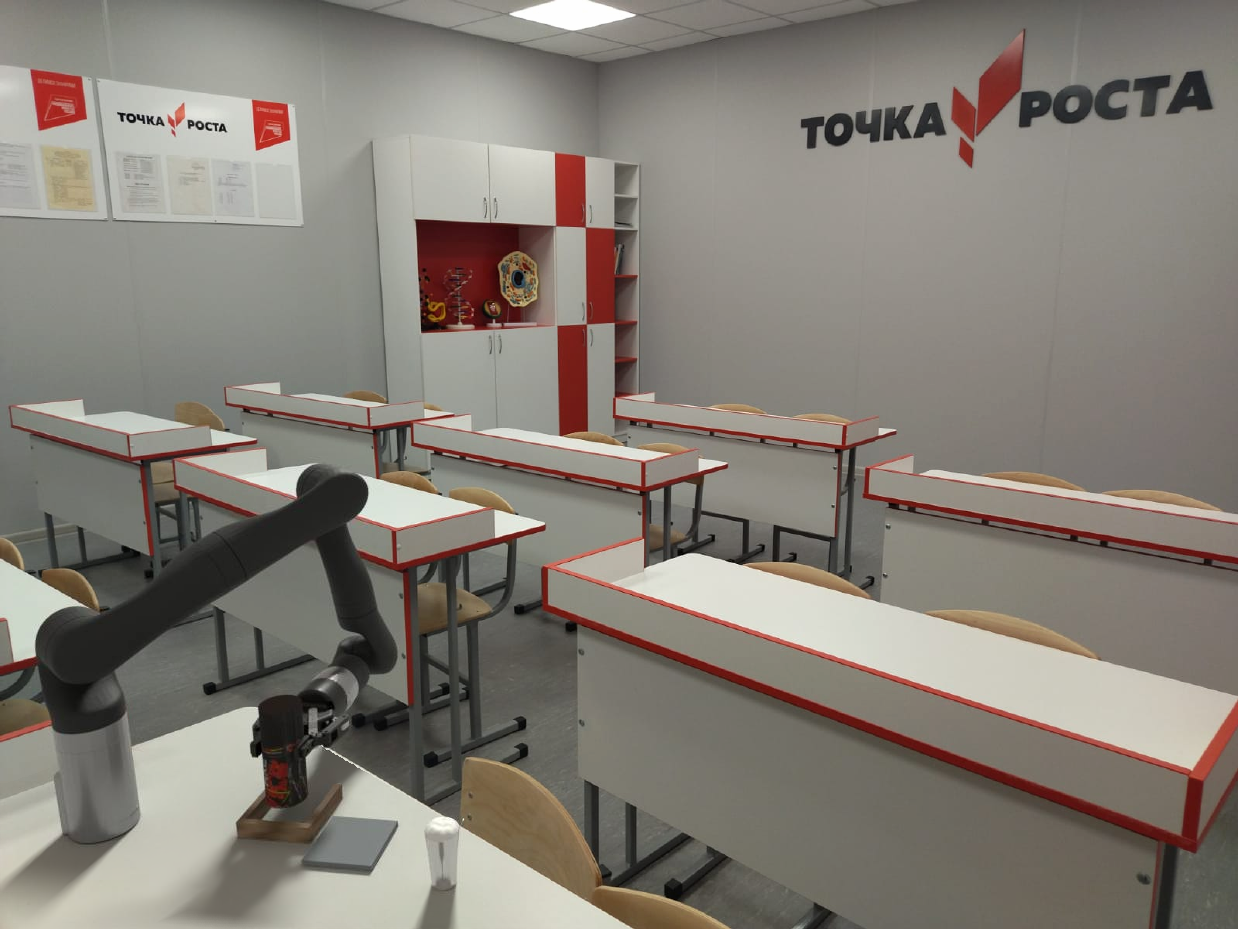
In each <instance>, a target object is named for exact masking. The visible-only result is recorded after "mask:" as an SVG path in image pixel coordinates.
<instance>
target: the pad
mask: <svg viewBox="0 0 1238 929" xmlns="http://www.w3.org/2000/svg"><path fill="white" fill-rule="evenodd" d="M398 821H399V820H392V819H388V820H387V819H381V818H380V819H379V818H378V819H377V818H376V819H375V818H366V817H355V816H354V817H353V816H352V817H351V816H342V815H341V816H339V815H332V816H331V818H330V819H329V821H328V822H327V823H326V825H325V826H324V828H323V830H321V831H320V833H319V835H317V838H316V839H315V840H314V842H313V843H312V844H311V846H310V848H309V849H308V850H307V852H306V853H305V854H304V856H303V857H302V859H301V866H307V867H308V866H309V867H310V866H311V867H318V868H319V867H322V868H331V869H332V868H333V869H345V870H357V871H367V872H369V871H370V872H372V871H373V870H374V868H375V866H376V864H377V863H378V861H379V860H380V857H381V856H382V854H383V852H384V851H385V850H386V849H385V848H386V847H388V846H387V845H388V844H389V842H390V841H391V839H392V837H393V835H394V833H395V832H396V831H397V829H398V827H399V822H398Z"/></svg>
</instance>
